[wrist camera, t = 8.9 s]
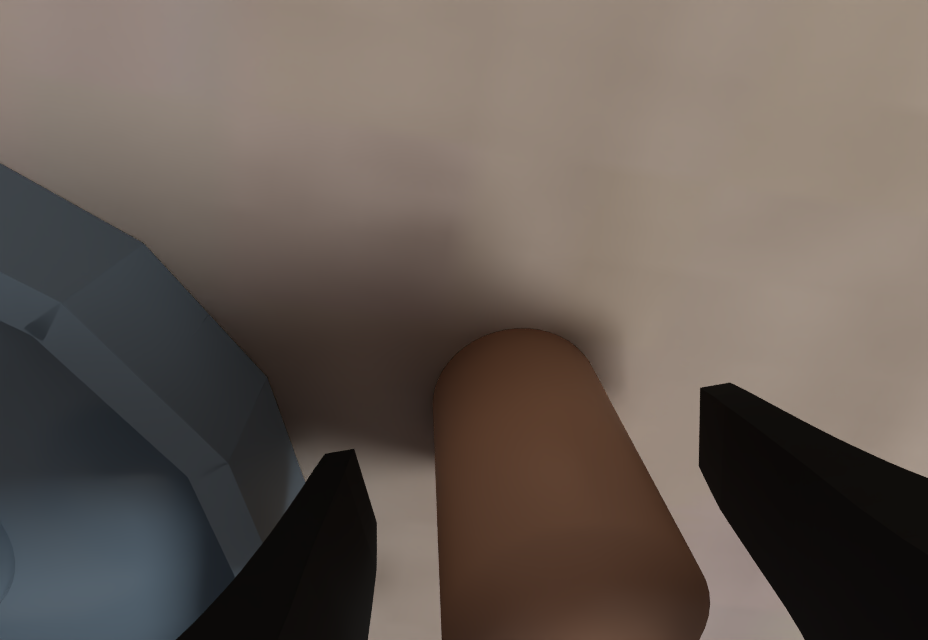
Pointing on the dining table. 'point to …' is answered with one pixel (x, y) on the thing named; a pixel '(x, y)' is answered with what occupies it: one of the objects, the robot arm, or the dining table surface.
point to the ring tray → (121, 435)
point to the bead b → (550, 505)
